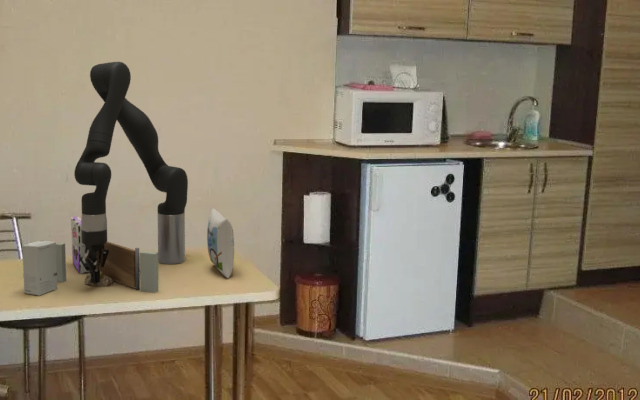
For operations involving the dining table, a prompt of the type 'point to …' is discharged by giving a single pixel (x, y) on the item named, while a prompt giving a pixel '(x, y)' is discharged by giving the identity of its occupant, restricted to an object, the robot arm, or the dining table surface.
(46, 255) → the skincare box
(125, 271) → the door
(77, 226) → the candy box
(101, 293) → the dining table surface
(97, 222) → the robot arm
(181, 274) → the dining table surface
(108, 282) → the mineral rock
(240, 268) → the dining table surface
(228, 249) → the pouch
